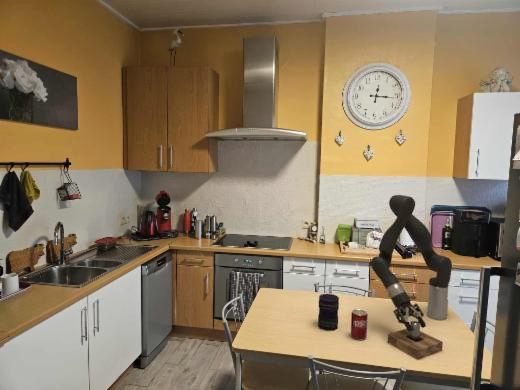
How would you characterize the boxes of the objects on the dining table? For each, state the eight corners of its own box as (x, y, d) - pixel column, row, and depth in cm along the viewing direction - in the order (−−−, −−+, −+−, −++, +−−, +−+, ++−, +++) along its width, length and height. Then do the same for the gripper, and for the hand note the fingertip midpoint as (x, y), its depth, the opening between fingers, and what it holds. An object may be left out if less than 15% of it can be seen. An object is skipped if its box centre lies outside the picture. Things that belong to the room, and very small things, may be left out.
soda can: (348, 333, 172) (349, 309, 171) (363, 333, 172) (364, 308, 171) (353, 340, 164) (354, 315, 163) (369, 340, 165) (370, 315, 164)
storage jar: (341, 326, 179) (342, 297, 177) (331, 333, 172) (332, 302, 170) (324, 320, 186) (325, 292, 184) (313, 326, 178) (314, 297, 177)
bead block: (411, 334, 171) (411, 326, 171) (442, 350, 157) (442, 341, 157) (387, 342, 163) (387, 334, 163) (417, 359, 149) (418, 350, 149)
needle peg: (413, 343, 163) (414, 320, 162) (420, 347, 160) (422, 323, 159) (407, 345, 161) (408, 321, 160) (414, 349, 158) (416, 325, 157)
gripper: (392, 294, 161) (412, 329, 152) (413, 289, 168) (434, 322, 159) (382, 301, 166) (401, 335, 157) (403, 296, 173) (423, 329, 164)
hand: (417, 329), depth 158 cm, fingers open, 8 cm apart
